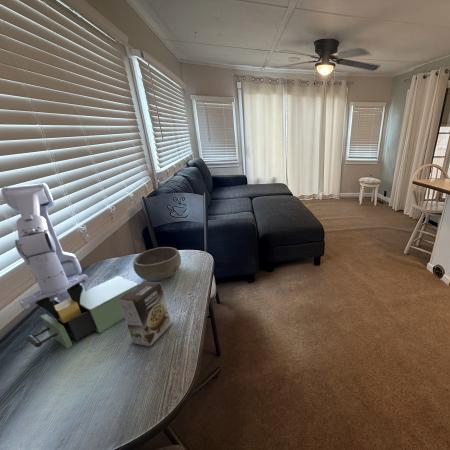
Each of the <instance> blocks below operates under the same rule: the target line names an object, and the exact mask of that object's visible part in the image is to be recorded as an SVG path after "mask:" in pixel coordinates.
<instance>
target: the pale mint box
mask: <svg viewBox="0 0 450 450" xmlns="http://www.w3.org/2000/svg"><path fill="white" fill-rule="evenodd" d="M139 284H140V283H137V282H135V281H133V280H130V279H127V278H125V277H122V276H120V275H117V276H115V277H112V278H111V279H108V280H106V281H104V282H102V283H100V284H97V285H95V286H94V287H91V288H89V289H87V290H85V292H83V293H81V297H80V306H81V307H83V308H85V309H87V310H88V311H90V313H91V316H92V318H93V321H94V323H95V325H96V328H97V329H95V330H94V331H95V332H97V333H103V332H105V330H107V329H109V328H110V327H112V326H113V325H115V324H117V323H118V322H120V321H121V320H123V319H125V317H124V314H123V311H122V308H121V305H120V302H119V298H121V297H122V296H124V295H125V294H126V293H128V292H129V291H131V290H132V289H133V288H135V287H136V286H138V285H139ZM70 299H71V298H70Z"/></svg>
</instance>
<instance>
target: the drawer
mask: <svg viewBox="0 0 450 450" xmlns="http://www.w3.org/2000/svg"><path fill="white" fill-rule="evenodd" d="M80 307H81V306H80ZM80 311H81V313H82V314H81V315H79V316H77V317H75V318H73V319H71V320H69V321H67V322H66V323H62V322H61V321H59V320H56V319H55V318H53V317H51V316H50V315H48V314H47V313H44V314H42V315H40V318H41V321H42V322H43V325H44V327H45V328H44V329H42V330H40V331H38V332H36V333H34V334H29V335H27V337H26V340H27V342H29V343H30V344H31V345H33V346H34V348H40V347H42V346H43V344H45V343H46V342H48V341H50V340H52V339H54V340H56V341H57V342H58V343H59V344H61V345H62V346H64V347H65V348H66V349H69V348H71V347H72V346H73V343H72V341H71V338H73V339H74V340H76V341H79V340H80V339H82V338H84V337H85V336H87V335H88V334H90V333H92V332H94V331H96V330H95V329H97V328H96V325H95V323H94V321H93V318H92V316H91V313H90V311H88V310H87V309H85V308H83V307H81V308H80ZM46 332H48V335H49V336H48V337H46V338H44V339H42V340H40V339H38V338H37V337H38V336H40V335H43V334H44V333H46ZM70 337H71V338H70Z"/></svg>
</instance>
